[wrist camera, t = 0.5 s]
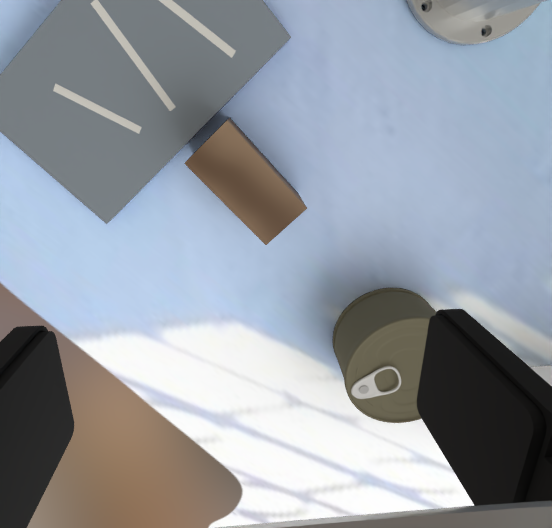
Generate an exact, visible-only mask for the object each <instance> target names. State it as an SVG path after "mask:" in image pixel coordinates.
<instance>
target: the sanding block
mask: <svg viewBox="0 0 552 528" xmlns="http://www.w3.org/2000/svg"><path fill="white" fill-rule="evenodd" d="M184 164H185V165H186V166H187V167H188V168H189V169H190V170H191V171H192V172H193V173H194V174H195V175H196V176H197V177H198V178H199V179H200V180H201V181H202V182H203V183H204V184H205V185H206V186H207V187H208V188H209V189H210V190H211V191H212V192H213V193H214V194H215V195H216V196H217V197H218V198H219V199H220V200H221V201H222V202H223V203H224V204H225V205H226V206H227V207H228V208H229V209H230V210H231V211H232V212H233V213H234V214H235V215H236V216H237V217H238V218H239V219H240V220H241V221H242V222H243V223H244V224H245V225H246V226H247V227H248V228H249V229H250V230H251V231H252V232H253V233H254V234H255V235H256V236H257V237H258V238H259V239H260V240H261V241H262V242H263V243H264V244H265V245H267V244H268V243H269V242H270V241H271V240H272V239H273V238H274V237H276V236H277V235H278V234H279V233H280V232H281V231H282V230H283V229H285V228H286V227H287V226H288V225H289V224H290V223H291V222H292V221H293V220H295V219H296V218H297V217H298V216H299V215H300V214H301V213H302V212H304V211H305V210H306V209H307V207H306V206H305V204H304V202H303V201H302V199H301V197H300V196H299V194H298V193H297V192H296V190H295V189H294V188H293V187H292V186H291V185H290V184H289V183H288V182H287V180H286V179H285V178H284V177H283V176H282V175H281V174H280V173H279V172H278V171H277V169H276V168H275V167H274V166H273V165H272V164H271V163H270V162H269V161H268V159H267V158H266V157H265V156H264V155H263V154H262V153H261V152H260V151H259V149H258V148H257V147H256V146H255V145H254V144H253V143H252V142H251V141H250V140H249V138H248V137H247V136H246V135H245V134H244V133H243V132H242V131H241V130H240V128H239V127H238V126H237V125H236V124H235V123H234V122H233V121H232V120H231V118H229V119H228V120H227V121H226V122H225V123H224V124H223V125H222V126H221V127H220V128H219V129H218V130H217V131H216V132H215V133H214V134H213V135H212V136H211V137H210V138H209V139H208V140H207V141H206V142H205V143H204V144H203V145H202V146H201V147H200V148H199V149H198V150H197V151H196V152H195V153H194V154H193V155H192V156H191V157H190V158H189V159H188V160H187V161H186V162H185V163H184Z"/></svg>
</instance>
